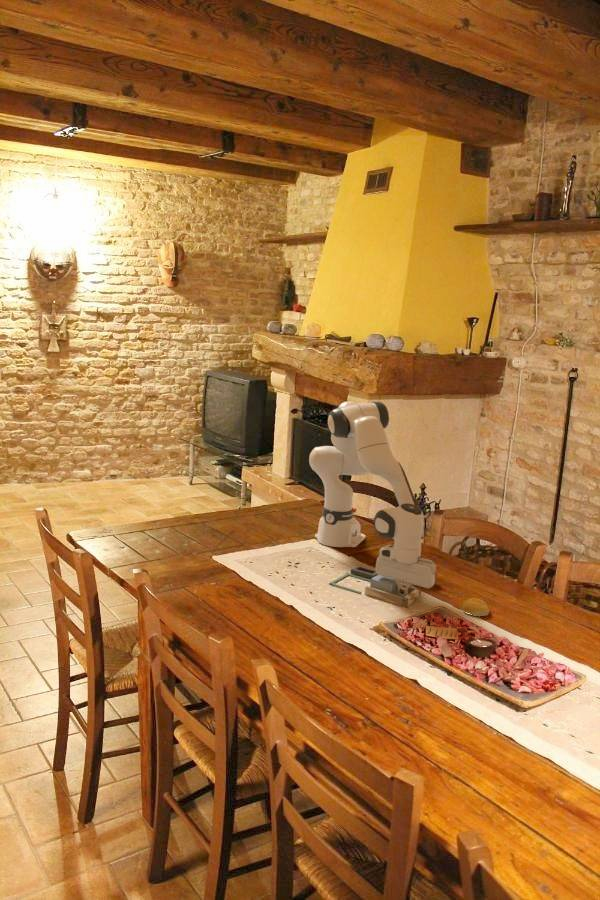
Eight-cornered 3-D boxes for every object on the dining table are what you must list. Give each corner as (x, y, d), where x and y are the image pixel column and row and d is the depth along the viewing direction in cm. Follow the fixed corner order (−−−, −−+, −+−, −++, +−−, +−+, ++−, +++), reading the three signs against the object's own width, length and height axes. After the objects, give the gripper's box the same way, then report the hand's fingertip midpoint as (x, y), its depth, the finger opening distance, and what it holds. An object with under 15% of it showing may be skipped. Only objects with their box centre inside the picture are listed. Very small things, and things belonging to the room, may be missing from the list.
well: (357, 570, 266) (358, 565, 266) (380, 576, 261) (380, 571, 261) (350, 574, 262) (351, 569, 261) (373, 580, 257) (373, 575, 256)
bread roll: (463, 616, 233) (464, 604, 232) (462, 605, 242) (463, 593, 241) (490, 619, 232) (491, 607, 231) (487, 608, 240) (489, 597, 240)
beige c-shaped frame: (380, 584, 254) (380, 577, 253) (420, 596, 246) (421, 589, 246) (364, 594, 244) (365, 587, 244) (405, 606, 237) (406, 599, 236)
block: (378, 587, 251) (379, 574, 250) (399, 594, 247) (400, 580, 246) (369, 592, 246) (371, 578, 245) (390, 599, 242) (392, 585, 241)
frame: (347, 574, 262) (347, 573, 262) (377, 582, 255) (377, 581, 255) (328, 584, 251) (328, 583, 251) (359, 593, 245) (359, 592, 244)
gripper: (440, 558, 238) (435, 599, 240) (383, 544, 248) (380, 582, 251) (432, 563, 232) (428, 604, 235) (375, 548, 243) (371, 588, 246)
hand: (402, 593), depth 243 cm, fingers closed
